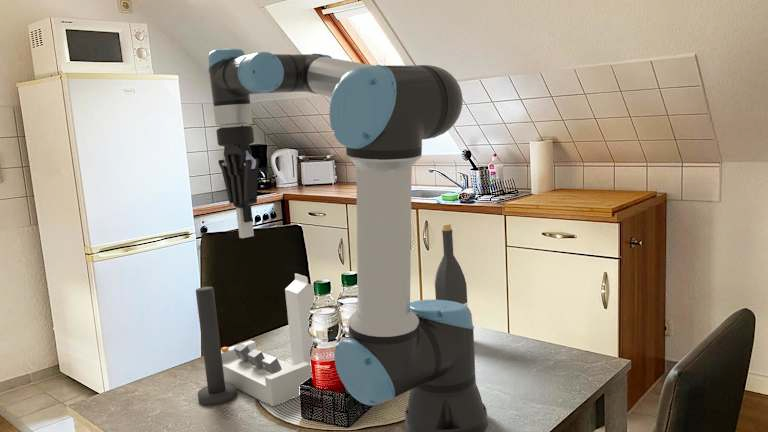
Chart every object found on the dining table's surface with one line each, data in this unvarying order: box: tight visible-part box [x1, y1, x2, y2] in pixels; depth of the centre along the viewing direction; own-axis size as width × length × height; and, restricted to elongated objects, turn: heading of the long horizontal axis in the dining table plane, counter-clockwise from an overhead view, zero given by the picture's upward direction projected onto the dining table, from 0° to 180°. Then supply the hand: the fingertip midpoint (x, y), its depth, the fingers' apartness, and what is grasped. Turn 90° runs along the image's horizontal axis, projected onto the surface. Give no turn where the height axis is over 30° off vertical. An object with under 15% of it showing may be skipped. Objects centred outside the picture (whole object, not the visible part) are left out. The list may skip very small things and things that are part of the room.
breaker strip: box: [221, 340, 312, 407], centre depth 142 cm, size 24×10×7 cm, turn 43°
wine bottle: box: [434, 223, 469, 308], centre depth 156 cm, size 8×8×30 cm
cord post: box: [195, 286, 238, 406], centre depth 136 cm, size 8×8×24 cm
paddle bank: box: [234, 342, 282, 374], centre depth 141 cm, size 18×2×4 cm, turn 43°
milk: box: [284, 273, 314, 367], centre depth 150 cm, size 6×6×22 cm
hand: (246, 236), depth 137 cm, fingers closed
